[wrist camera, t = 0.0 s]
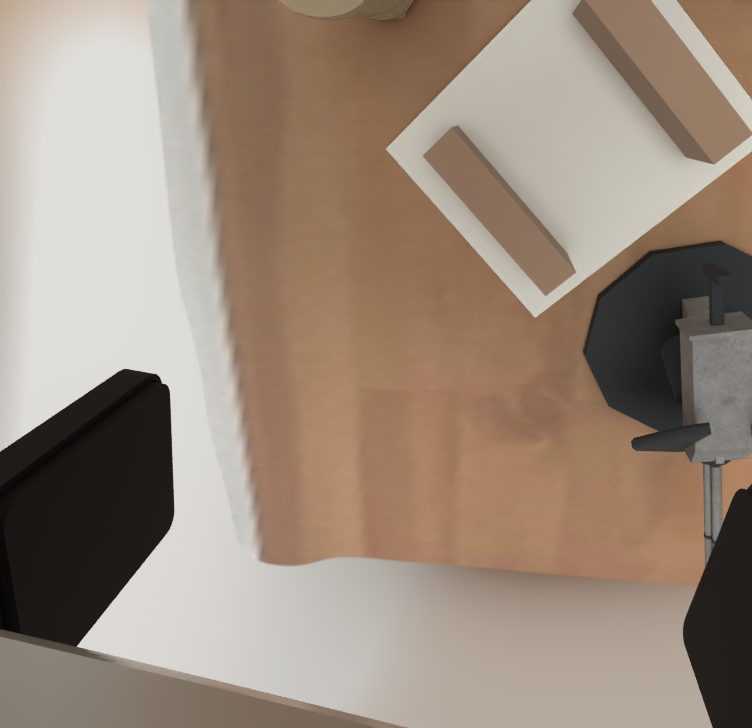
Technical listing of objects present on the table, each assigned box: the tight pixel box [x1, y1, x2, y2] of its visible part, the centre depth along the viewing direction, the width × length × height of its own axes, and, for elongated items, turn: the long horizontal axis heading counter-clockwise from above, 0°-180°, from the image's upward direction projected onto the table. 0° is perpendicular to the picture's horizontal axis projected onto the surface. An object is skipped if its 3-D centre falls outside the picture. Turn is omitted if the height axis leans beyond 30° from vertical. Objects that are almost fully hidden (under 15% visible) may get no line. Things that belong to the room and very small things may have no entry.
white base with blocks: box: [386, 0, 752, 318], centre depth 33 cm, size 16×14×6 cm
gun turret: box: [583, 241, 752, 567], centre depth 34 cm, size 13×20×13 cm, turn 12°
